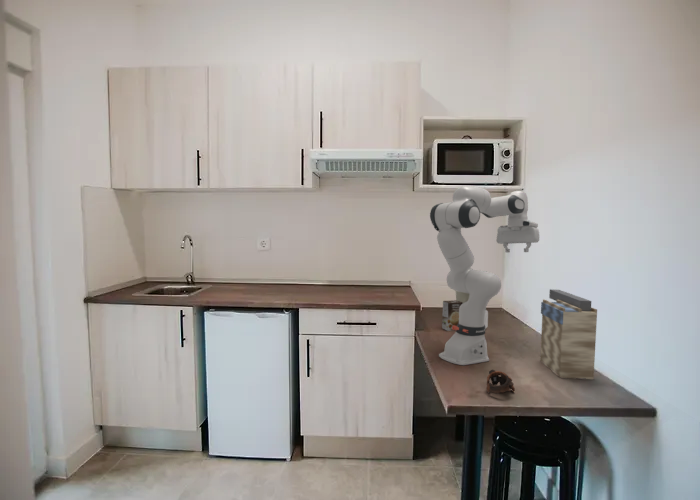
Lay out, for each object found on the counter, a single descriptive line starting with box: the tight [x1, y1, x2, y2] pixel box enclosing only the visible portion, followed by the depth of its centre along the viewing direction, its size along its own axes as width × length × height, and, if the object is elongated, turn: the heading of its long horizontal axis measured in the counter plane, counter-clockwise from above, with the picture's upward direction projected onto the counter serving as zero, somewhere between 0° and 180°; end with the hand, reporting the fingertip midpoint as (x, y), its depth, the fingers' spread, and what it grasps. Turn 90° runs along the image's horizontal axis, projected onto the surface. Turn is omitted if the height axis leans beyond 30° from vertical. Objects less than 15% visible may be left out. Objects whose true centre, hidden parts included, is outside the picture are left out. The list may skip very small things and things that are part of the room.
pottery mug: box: [486, 369, 516, 394], centre depth 128 cm, size 12×10×8 cm
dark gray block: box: [548, 288, 592, 311], centre depth 152 cm, size 26×4×4 cm, turn 175°
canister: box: [454, 290, 469, 303], centre depth 240 cm, size 18×18×21 cm
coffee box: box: [441, 299, 463, 332], centre depth 206 cm, size 9×6×16 cm
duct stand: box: [539, 298, 598, 380], centre depth 148 cm, size 18×13×27 cm
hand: (516, 252), depth 177 cm, fingers open, 8 cm apart
